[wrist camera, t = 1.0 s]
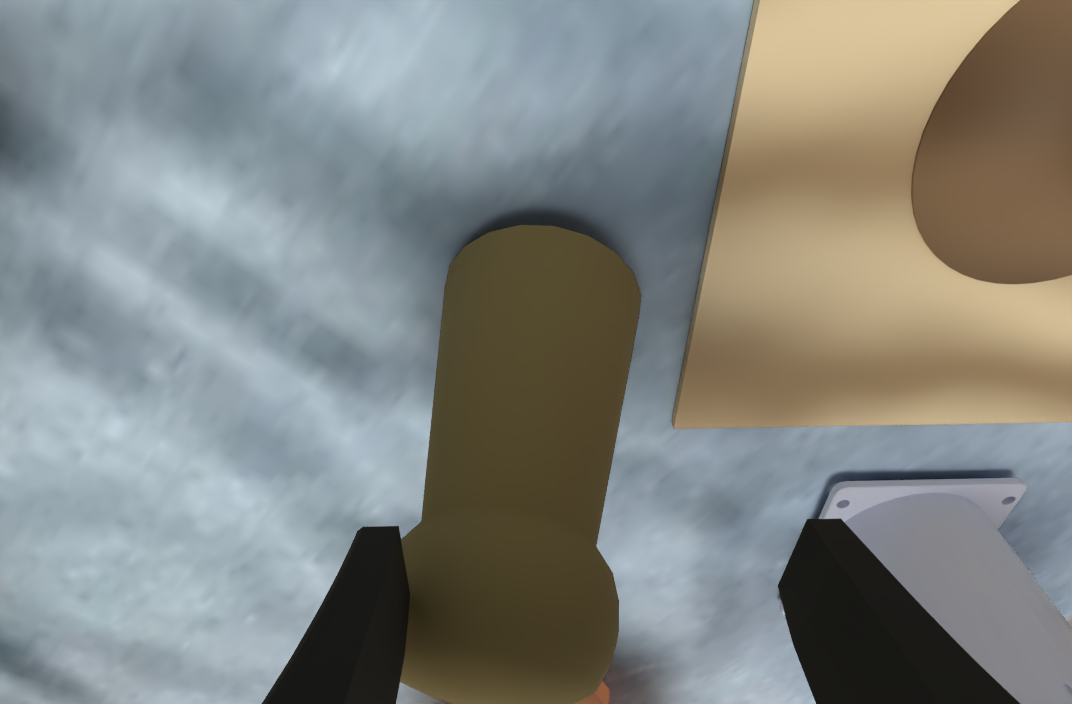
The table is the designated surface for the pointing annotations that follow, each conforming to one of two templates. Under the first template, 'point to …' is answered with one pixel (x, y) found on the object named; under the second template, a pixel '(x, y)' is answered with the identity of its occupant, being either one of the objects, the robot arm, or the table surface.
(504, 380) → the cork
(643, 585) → the table surface
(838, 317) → the mat
